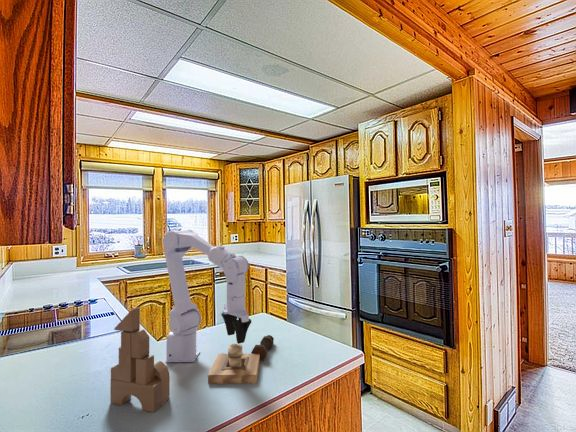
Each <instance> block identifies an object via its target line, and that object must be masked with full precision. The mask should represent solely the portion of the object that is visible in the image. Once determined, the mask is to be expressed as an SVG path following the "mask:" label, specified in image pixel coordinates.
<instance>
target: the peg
mask: <svg viewBox="0 0 576 432" xmlns="http://www.w3.org/2000/svg"><path fill="white" fill-rule="evenodd" d="M227 354H228V357H229V367H241V356H242V355H243V354H244V353H243V345H242V343H240V344H238V343H232V344H229V345H228V347H227Z"/></svg>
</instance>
